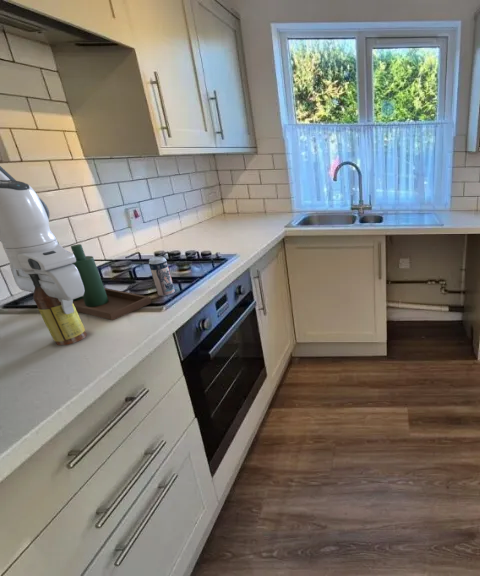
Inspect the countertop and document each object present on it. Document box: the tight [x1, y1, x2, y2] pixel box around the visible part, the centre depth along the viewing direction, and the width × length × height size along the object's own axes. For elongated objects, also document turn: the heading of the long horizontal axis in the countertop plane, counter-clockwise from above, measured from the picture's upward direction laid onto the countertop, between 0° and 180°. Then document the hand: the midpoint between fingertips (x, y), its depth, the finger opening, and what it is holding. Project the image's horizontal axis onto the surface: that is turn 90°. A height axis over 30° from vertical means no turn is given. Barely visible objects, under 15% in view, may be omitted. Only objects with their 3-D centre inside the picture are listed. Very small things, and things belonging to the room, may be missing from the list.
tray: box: [73, 287, 152, 321], centre depth 108 cm, size 32×12×3 cm, turn 68°
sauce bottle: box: [28, 274, 88, 346], centre depth 86 cm, size 6×6×20 cm
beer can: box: [148, 255, 176, 297], centre depth 113 cm, size 5×5×12 cm
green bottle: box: [70, 243, 109, 307], centre depth 105 cm, size 6×6×18 cm
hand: (59, 310), depth 86 cm, fingers closed on sauce bottle, 6 cm apart
